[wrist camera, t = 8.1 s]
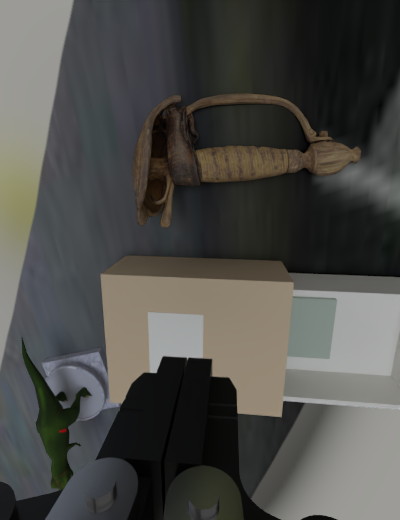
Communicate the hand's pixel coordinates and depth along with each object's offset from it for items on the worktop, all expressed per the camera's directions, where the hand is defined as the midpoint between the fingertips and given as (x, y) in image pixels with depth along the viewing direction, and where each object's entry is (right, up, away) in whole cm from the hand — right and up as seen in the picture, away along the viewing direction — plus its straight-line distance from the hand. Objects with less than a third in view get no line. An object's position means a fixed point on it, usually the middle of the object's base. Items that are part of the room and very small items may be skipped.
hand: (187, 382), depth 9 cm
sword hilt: (+6, +16, +27) cm, 32 cm away
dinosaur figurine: (-17, -13, +37) cm, 43 cm away
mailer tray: (+16, -5, +30) cm, 34 cm away
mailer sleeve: (+1, -4, +32) cm, 33 cm away
